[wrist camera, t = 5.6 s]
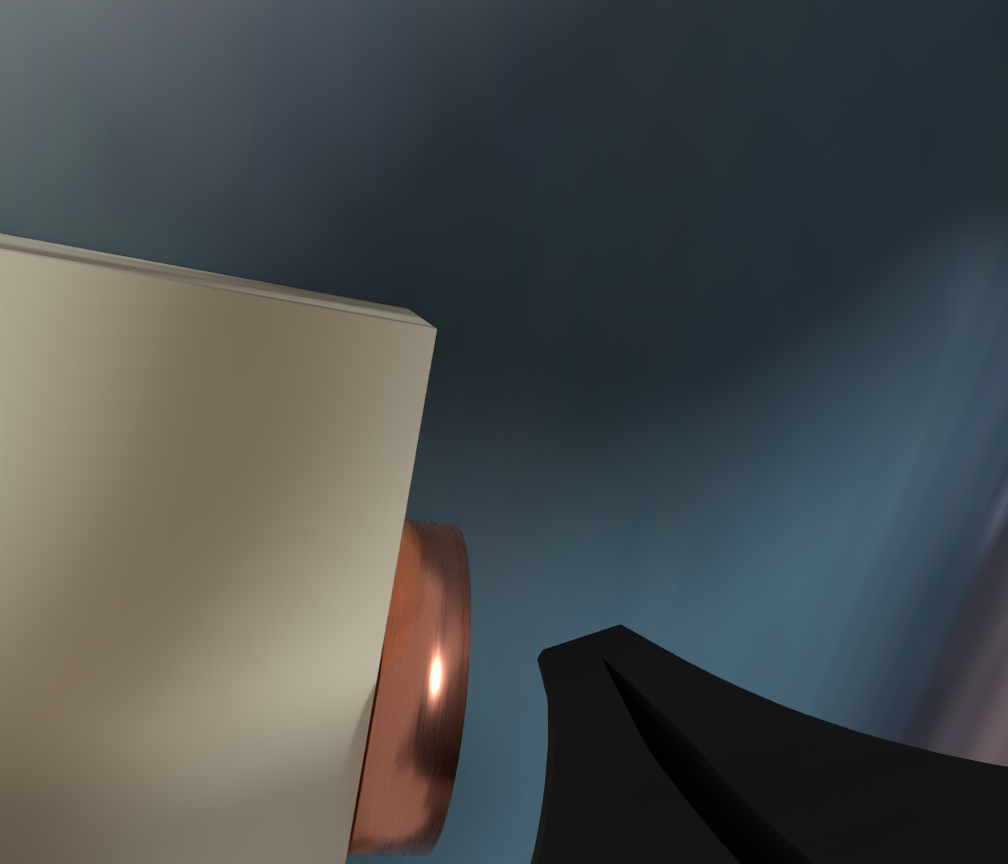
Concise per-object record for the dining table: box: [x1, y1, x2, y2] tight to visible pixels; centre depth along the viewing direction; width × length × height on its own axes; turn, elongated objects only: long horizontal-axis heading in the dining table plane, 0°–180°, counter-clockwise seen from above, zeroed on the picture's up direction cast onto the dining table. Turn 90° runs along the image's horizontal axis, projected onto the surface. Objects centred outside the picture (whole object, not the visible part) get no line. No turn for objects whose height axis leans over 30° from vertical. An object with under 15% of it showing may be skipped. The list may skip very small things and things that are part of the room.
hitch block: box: [0, 233, 437, 864], centre depth 10 cm, size 6×10×5 cm, turn 169°
